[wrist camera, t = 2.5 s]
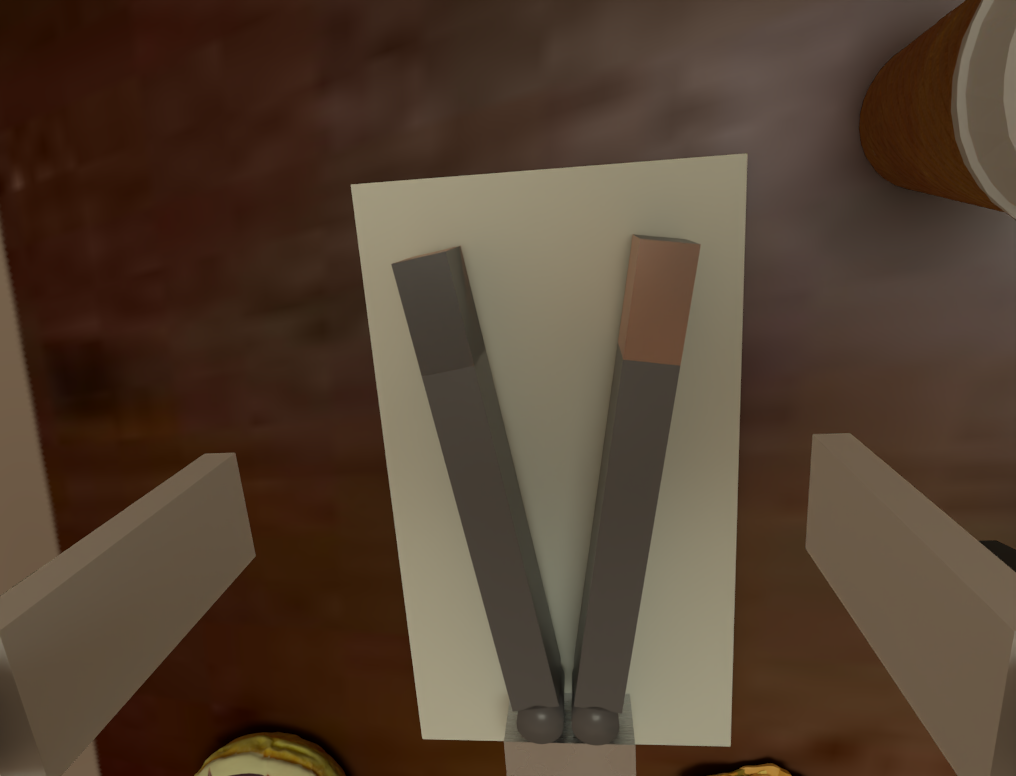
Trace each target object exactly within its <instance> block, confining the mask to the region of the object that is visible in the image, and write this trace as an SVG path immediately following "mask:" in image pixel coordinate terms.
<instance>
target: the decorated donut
mask: <svg viewBox="0 0 1016 776" xmlns="http://www.w3.org/2000/svg"><path fill="white" fill-rule="evenodd" d="M194 776H346V775H345V773H344V771H343V769H342V768H341V767H340V766H339V765H338V764H337V762H336V761H335V760H334V759H333V758H332V757H331V756H330V755H329V754H327V753H326V752H325V751H324V749H322V747H320V746H319V745H317V744H315V743H313V742H310V741H307V740H304V739H302V738H300V737H299V736H298V735H294V734H289V733H282V732H273V733H271V732H268V733H267V732H261V733H254V734H248V735H245V736H241V737H239V738H236V739H234V740H233V741H231V742H230V743H228V744H227V745H226V746H224V747H222V748H220V749H219V750H217V751H216V752H214V753H213V754H212V755H211V756H210V757H208V759H207V760H205V762H204V764H203V766H202V768H201V769H200V770H199V771H198V772H197V773H196V774H195V775H194Z"/></svg>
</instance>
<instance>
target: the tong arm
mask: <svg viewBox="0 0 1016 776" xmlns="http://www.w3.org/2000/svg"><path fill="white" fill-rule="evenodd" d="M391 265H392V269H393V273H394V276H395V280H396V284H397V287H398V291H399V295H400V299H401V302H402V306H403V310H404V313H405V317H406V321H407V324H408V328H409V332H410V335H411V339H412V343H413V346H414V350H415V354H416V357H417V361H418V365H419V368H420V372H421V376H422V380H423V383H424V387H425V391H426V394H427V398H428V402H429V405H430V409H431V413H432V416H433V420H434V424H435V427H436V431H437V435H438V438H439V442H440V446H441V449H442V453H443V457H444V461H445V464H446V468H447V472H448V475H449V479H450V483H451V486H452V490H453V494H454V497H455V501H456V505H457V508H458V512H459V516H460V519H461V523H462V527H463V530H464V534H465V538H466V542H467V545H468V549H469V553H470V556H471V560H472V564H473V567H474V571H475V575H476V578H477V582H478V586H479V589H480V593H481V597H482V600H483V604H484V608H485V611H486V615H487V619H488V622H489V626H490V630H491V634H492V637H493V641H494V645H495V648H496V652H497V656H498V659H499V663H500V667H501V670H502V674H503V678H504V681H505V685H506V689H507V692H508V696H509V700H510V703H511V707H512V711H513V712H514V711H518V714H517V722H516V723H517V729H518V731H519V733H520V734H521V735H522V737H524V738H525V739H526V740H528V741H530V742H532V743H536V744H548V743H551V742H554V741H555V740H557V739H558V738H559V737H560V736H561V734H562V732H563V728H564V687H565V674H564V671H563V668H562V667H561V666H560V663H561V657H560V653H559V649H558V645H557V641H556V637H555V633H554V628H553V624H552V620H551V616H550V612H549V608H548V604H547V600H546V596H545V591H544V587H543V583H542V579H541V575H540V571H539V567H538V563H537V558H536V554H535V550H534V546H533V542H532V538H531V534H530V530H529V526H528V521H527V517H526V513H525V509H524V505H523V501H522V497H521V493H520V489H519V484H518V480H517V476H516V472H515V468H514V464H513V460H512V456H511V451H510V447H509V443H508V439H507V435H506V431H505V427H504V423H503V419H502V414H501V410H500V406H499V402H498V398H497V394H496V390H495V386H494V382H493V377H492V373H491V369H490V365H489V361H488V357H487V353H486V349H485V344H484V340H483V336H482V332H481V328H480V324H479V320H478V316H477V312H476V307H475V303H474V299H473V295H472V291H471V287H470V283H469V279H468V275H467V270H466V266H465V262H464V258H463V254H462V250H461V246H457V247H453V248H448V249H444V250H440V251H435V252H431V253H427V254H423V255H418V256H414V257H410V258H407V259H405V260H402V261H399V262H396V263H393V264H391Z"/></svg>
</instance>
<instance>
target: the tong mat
mask: <svg viewBox="0 0 1016 776" xmlns="http://www.w3.org/2000/svg"><path fill="white" fill-rule="evenodd" d="M746 186H747V153H746V154H733V155H720V156H708V157H695V158H682V159H669V160H657V161H644V162H631V163H619V164H606V165H593V166H580V167H568V168H555V169H542V170H530V171H517V172H504V173H491V174H479V175H466V176H453V177H441V178H428V179H415V180H402V181H390V182H377V183H364V184H352V185H351V191H352V199H353V207H354V214H355V222H356V230H357V237H358V245H359V253H360V261H361V268H362V276H363V284H364V291H365V299H366V307H367V315H368V322H369V330H370V338H371V346H372V353H373V361H374V369H375V376H376V384H377V392H378V400H379V407H380V415H381V423H382V431H383V438H384V446H385V454H386V461H387V469H388V477H389V485H390V492H391V500H392V508H393V516H394V523H395V531H396V539H397V546H398V554H399V562H400V570H401V577H402V585H403V593H404V601H405V608H406V616H407V624H408V631H409V639H410V647H411V655H412V662H413V670H414V678H415V685H416V693H417V701H418V709H419V716H420V724H421V732H422V739H444V740H485V741H504V738H505V730H506V723H507V715H508V708H509V696H508V692H507V689H506V685H505V681H504V678H503V674H502V670H501V667H500V663H499V659H498V656H497V652H496V648H495V645H494V641H493V637H492V634H491V630H490V626H489V622H488V619H487V615H486V611H485V608H484V604H483V600H482V597H481V593H480V589H479V586H478V582H477V578H476V575H475V571H474V567H473V564H472V560H471V556H470V553H469V549H468V545H467V542H466V538H465V534H464V530H463V527H462V523H461V519H460V516H459V512H458V508H457V505H456V501H455V497H454V494H453V490H452V486H451V483H450V479H449V475H448V472H447V468H446V464H445V461H444V457H443V453H442V449H441V446H440V442H439V438H438V435H437V431H436V427H435V424H434V420H433V416H432V413H431V409H430V405H429V402H428V398H427V394H426V391H425V387H424V383H423V380H422V376H421V372H420V368H419V365H418V361H417V357H416V354H415V350H414V346H413V343H412V339H411V335H410V332H409V328H408V324H407V321H406V317H405V313H404V310H403V306H402V302H401V299H400V295H399V291H398V287H397V284H396V280H395V276H394V273H393V269H392V265H391V264H393V263H396V262H399V261H402V260H405V259H407V258H410V257H414V256H418V255H423V254H427V253H431V252H435V251H440V250H444V249H448V248H453V247H457V246H461V250H462V254H463V258H464V262H465V266H466V270H467V275H468V279H469V283H470V287H471V291H472V295H473V299H474V303H475V307H476V312H477V316H478V320H479V324H480V328H481V332H482V336H483V340H484V344H485V349H486V353H487V357H488V361H489V365H490V369H491V373H492V377H493V382H494V386H495V390H496V394H497V398H498V402H499V406H500V410H501V414H502V419H503V423H504V427H505V431H506V435H507V439H508V443H509V447H510V451H511V456H512V460H513V464H514V468H515V472H516V476H517V480H518V484H519V489H520V493H521V497H522V501H523V505H524V509H525V513H526V517H527V521H528V526H529V530H530V534H531V538H532V542H533V546H534V550H535V554H536V558H537V563H538V567H539V571H540V575H541V579H542V583H543V587H544V591H545V596H546V600H547V604H548V608H549V612H550V616H551V620H552V624H553V628H554V633H555V637H556V641H557V645H558V649H559V653H560V657H561V663H560V666H561V667H562V668H563V671H564V674H565V687H564V693H572V671H573V668H574V655H575V648H576V641H577V634H578V626H579V619H580V612H581V605H582V597H583V590H584V583H585V576H586V568H587V561H588V554H589V547H590V540H591V532H592V525H593V518H594V511H595V503H596V496H597V489H598V482H599V474H600V467H601V460H602V453H603V446H604V438H605V431H606V424H607V417H608V409H609V402H610V395H611V388H612V380H613V373H614V366H615V359H616V352H617V344H618V337H619V330H620V323H621V315H622V308H623V301H624V294H625V286H626V279H627V272H628V265H629V257H630V250H631V243H632V236H633V234H635V235H646V236H656V237H667V238H678V239H687V240H690V241H693V242H695V243H698V244H701V247H700V253H699V259H698V265H697V271H696V276H695V282H694V288H693V294H692V300H691V306H690V312H689V318H688V324H687V330H686V336H685V342H684V348H683V354H682V360H681V366H680V372H679V377H678V383H677V389H676V395H675V401H674V407H673V413H672V419H671V425H670V431H669V437H668V443H667V449H666V455H665V461H664V467H663V472H662V478H661V484H660V490H659V496H658V502H657V508H656V514H655V520H654V526H653V532H652V538H651V544H650V550H649V556H648V562H647V567H646V573H645V579H644V585H643V591H642V597H641V603H640V609H639V615H638V621H637V627H636V633H635V639H634V645H633V651H632V657H631V662H630V668H629V674H628V680H627V686H626V692H625V694H630V700H631V710H632V719H633V728H634V737H635V744H648V745H689V746H730V745H731V710H732V675H733V640H734V605H735V570H736V535H737V500H738V465H739V430H740V395H741V361H742V326H743V291H744V256H745V221H746Z"/></svg>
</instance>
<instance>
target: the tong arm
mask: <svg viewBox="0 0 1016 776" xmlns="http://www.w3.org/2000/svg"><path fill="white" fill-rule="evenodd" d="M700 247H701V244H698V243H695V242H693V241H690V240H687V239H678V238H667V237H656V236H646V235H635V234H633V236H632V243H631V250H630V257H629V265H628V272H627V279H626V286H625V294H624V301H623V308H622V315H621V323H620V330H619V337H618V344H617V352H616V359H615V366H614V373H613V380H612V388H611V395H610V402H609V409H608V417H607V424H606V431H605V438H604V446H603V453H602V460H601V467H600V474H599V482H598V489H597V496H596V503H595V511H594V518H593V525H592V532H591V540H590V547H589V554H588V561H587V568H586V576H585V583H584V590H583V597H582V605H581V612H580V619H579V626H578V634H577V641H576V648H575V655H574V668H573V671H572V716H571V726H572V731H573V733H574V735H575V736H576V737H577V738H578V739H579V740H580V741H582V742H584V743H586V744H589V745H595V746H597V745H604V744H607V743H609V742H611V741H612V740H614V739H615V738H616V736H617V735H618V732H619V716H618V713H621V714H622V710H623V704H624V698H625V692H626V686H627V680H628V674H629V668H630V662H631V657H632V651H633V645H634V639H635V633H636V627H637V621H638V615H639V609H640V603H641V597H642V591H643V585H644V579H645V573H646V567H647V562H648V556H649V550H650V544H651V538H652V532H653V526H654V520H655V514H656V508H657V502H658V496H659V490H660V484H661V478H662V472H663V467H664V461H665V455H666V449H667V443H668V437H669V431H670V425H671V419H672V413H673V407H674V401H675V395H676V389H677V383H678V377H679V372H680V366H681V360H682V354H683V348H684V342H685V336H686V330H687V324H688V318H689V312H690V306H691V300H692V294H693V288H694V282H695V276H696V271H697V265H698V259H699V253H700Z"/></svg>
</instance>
